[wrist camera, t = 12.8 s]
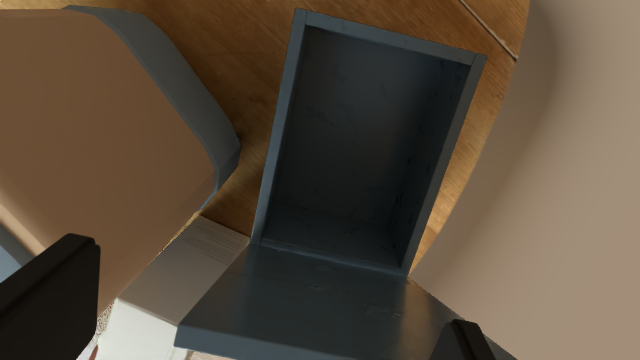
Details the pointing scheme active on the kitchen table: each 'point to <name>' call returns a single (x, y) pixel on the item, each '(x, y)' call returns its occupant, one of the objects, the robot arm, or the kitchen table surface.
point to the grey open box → (360, 141)
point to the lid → (314, 312)
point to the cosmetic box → (168, 293)
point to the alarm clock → (102, 138)
